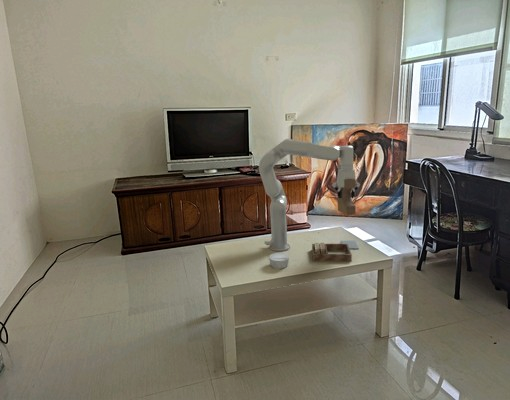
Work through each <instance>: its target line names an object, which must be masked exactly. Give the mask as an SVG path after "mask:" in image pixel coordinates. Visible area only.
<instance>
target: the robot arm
mask: <svg viewBox="0 0 510 400" xmlns="http://www.w3.org/2000/svg"><path fill="white" fill-rule="evenodd" d="M289 155H290V156H298V157H305V158H311V159H318V160H324V161H332V162H333V161H337V160H338V159H339V165H337V166H336V168H337V169H338V170H337V177H336V181H335V182H333V183H332V185H331V186H332V187H333V188H334V189H335V190H336V191H337V198H338V197H339V199H340V194H341V192H340V189H341V188H344V180H348V179H355V180H356V172H355V169H354V147H353V146H352V145H329V146H328V145H319V144H316V143H314V142H311V141H303V140H296V139H295V140H293V139H292V138H285V139H284V140H282V141H281V142H280V143H279V144H277V145H275V146H274V147H273V148H271V149H270V150H269V151H268V152H266V153H265V154H264V155H263V156H262V158H261V159H260V161H259V164H258V171H259V174H260V179H261V181H262V183H263V187H264V191H265V194H266V195H267V196H268V197H270V200H271V201H270V204H269V214H270V228H271V229H270V231H271V235H270V237H271V240H264V245H266V246H268V248H269V250H271V251H273V252H284V251H288V250H289V249H290V246H291V245H290V244H288V232H287V231H288V230H287V229H288V227H287V226H288V223H287V206H288V200H287V196H286V193H285V190H284V187H283V184H282V183H281V181H280V180H279V179H277V175H276V173H275V169H274V167H275V165H277V164H278V163H279V162H280V161H281V160H283V159H284V158H285V157H287V156H289ZM360 187H361V183H360V182H358V181H357V180H356V188H352V190H351V192H350V198H351V199H354V197H355V192H356V191H357V190H358V188H360Z"/></svg>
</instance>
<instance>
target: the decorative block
mask: <svg viewBox="0 0 510 400" xmlns="http://www.w3.org/2000/svg"><path fill="white" fill-rule="evenodd" d="M356 181H357V180H355V179H348V180H344V188H341V189H340V192H341V194H340V199H339V197H338V196H337V211H339V212H341V213H343V214H345V215H349V216H350V215H355V214H356V208H357V207H356V205H355V204H354V203H353V201H352V197H351V193H352V188H356V186H357V184H356Z"/></svg>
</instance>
